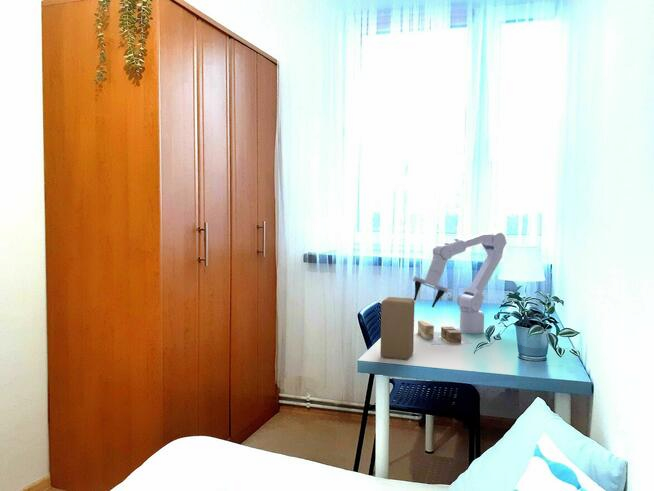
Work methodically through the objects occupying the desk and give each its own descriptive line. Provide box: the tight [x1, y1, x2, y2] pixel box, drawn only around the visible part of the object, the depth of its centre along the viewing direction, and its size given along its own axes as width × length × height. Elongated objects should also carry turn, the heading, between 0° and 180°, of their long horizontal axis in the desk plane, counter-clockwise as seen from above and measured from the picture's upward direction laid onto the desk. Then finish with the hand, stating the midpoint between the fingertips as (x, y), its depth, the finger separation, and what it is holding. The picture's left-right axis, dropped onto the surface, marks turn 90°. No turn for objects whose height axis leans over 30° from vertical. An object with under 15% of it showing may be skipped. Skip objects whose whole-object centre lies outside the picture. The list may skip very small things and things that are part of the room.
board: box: [417, 331, 473, 346], centre depth 226 cm, size 16×20×1 cm
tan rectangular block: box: [417, 320, 435, 340], centre depth 229 cm, size 4×10×5 cm, turn 7°
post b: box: [446, 329, 462, 343], centre depth 220 cm, size 4×4×4 cm
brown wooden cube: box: [440, 326, 457, 339], centre depth 226 cm, size 4×4×4 cm
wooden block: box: [380, 296, 416, 361], centre depth 198 cm, size 10×10×20 cm
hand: (423, 303), depth 230 cm, fingers open, 7 cm apart
